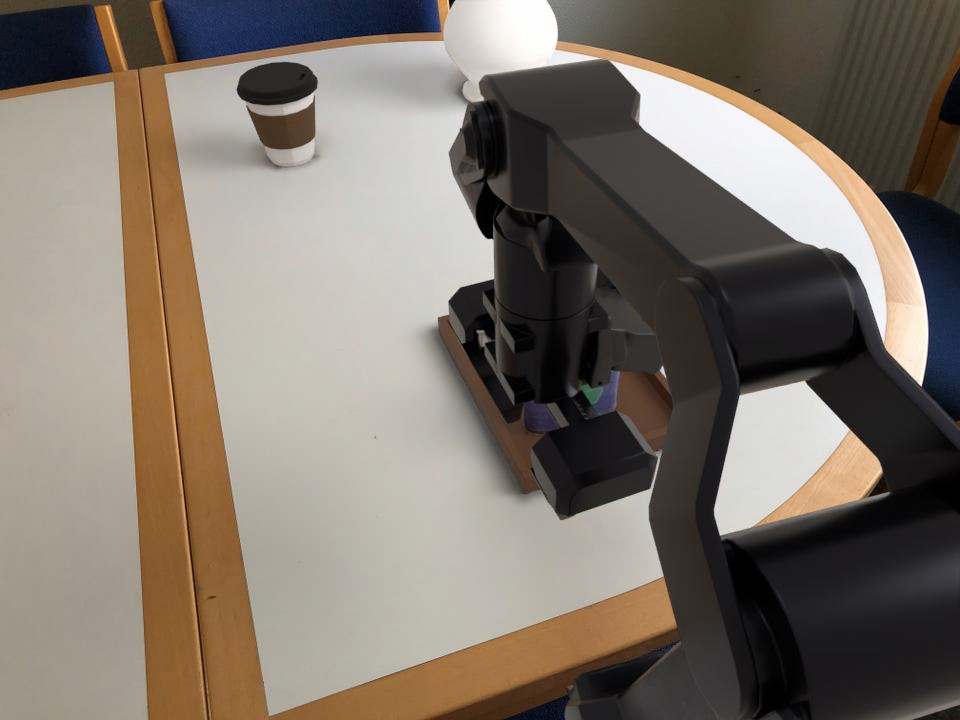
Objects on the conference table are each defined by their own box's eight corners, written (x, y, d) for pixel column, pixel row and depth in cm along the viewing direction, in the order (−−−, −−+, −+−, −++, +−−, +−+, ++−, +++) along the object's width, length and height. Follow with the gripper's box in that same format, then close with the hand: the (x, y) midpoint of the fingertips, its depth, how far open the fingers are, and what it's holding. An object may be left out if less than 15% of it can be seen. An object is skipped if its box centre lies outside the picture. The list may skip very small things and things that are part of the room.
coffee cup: (337, 139, 119) (324, 60, 111) (319, 177, 111) (304, 94, 103) (266, 137, 120) (249, 59, 112) (244, 174, 112) (223, 93, 104)
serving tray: (697, 437, 74) (701, 422, 72) (524, 494, 70) (524, 479, 68) (584, 293, 90) (586, 278, 89) (438, 332, 86) (437, 317, 84)
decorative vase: (557, 115, 123) (564, -62, 106) (442, 116, 124) (431, -60, 107) (554, 68, 136) (560, -96, 119) (450, 69, 137) (441, -94, 120)
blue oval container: (609, 396, 77) (619, 312, 70) (621, 417, 75) (633, 332, 68) (519, 419, 75) (520, 334, 68) (530, 441, 73) (531, 356, 66)
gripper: (766, 355, 40) (712, 534, 51) (597, 180, 53) (582, 352, 64) (566, 416, 37) (554, 591, 48) (439, 216, 50) (452, 390, 61)
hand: (538, 465), depth 55 cm, fingers open, 9 cm apart
